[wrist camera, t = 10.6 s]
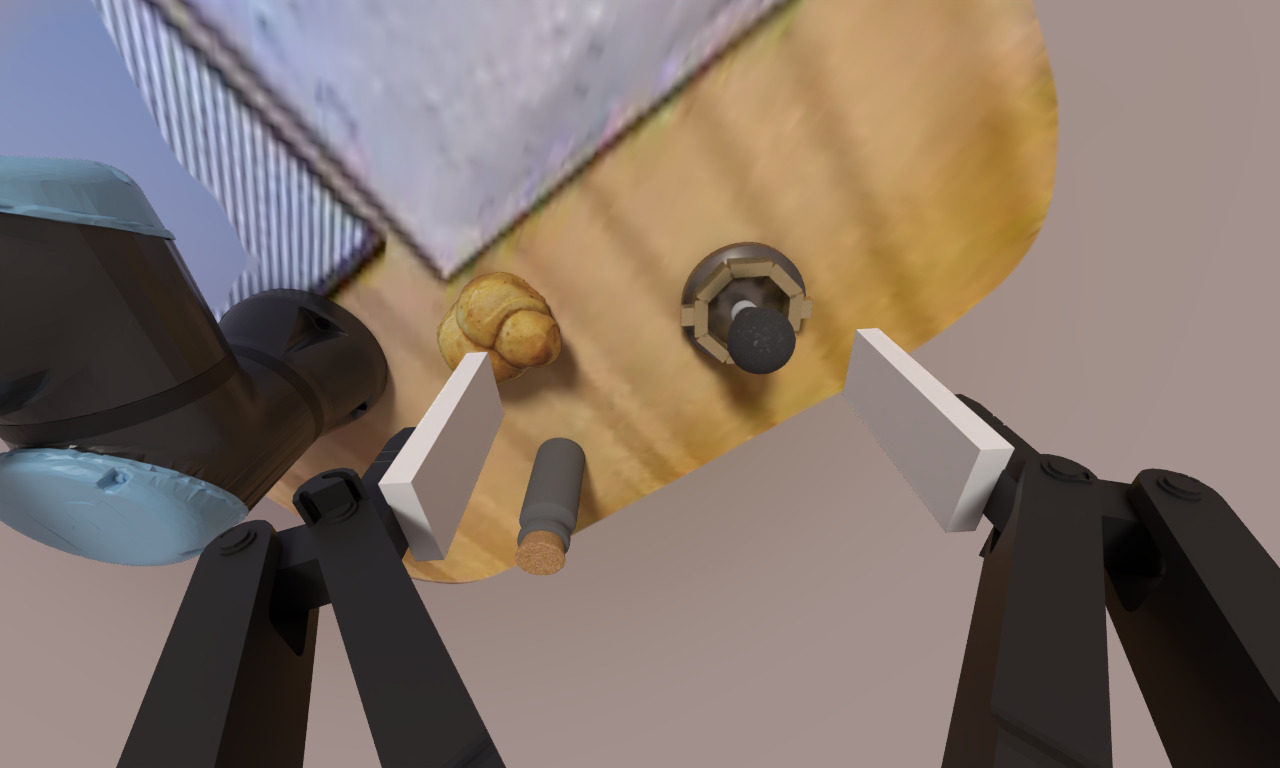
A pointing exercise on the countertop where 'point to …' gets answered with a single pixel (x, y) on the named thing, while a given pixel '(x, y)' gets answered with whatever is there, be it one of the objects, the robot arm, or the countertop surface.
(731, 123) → the countertop surface
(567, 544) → the bottle
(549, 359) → the bread roll
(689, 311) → the octagonal rimmed dish
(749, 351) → the light bulb
